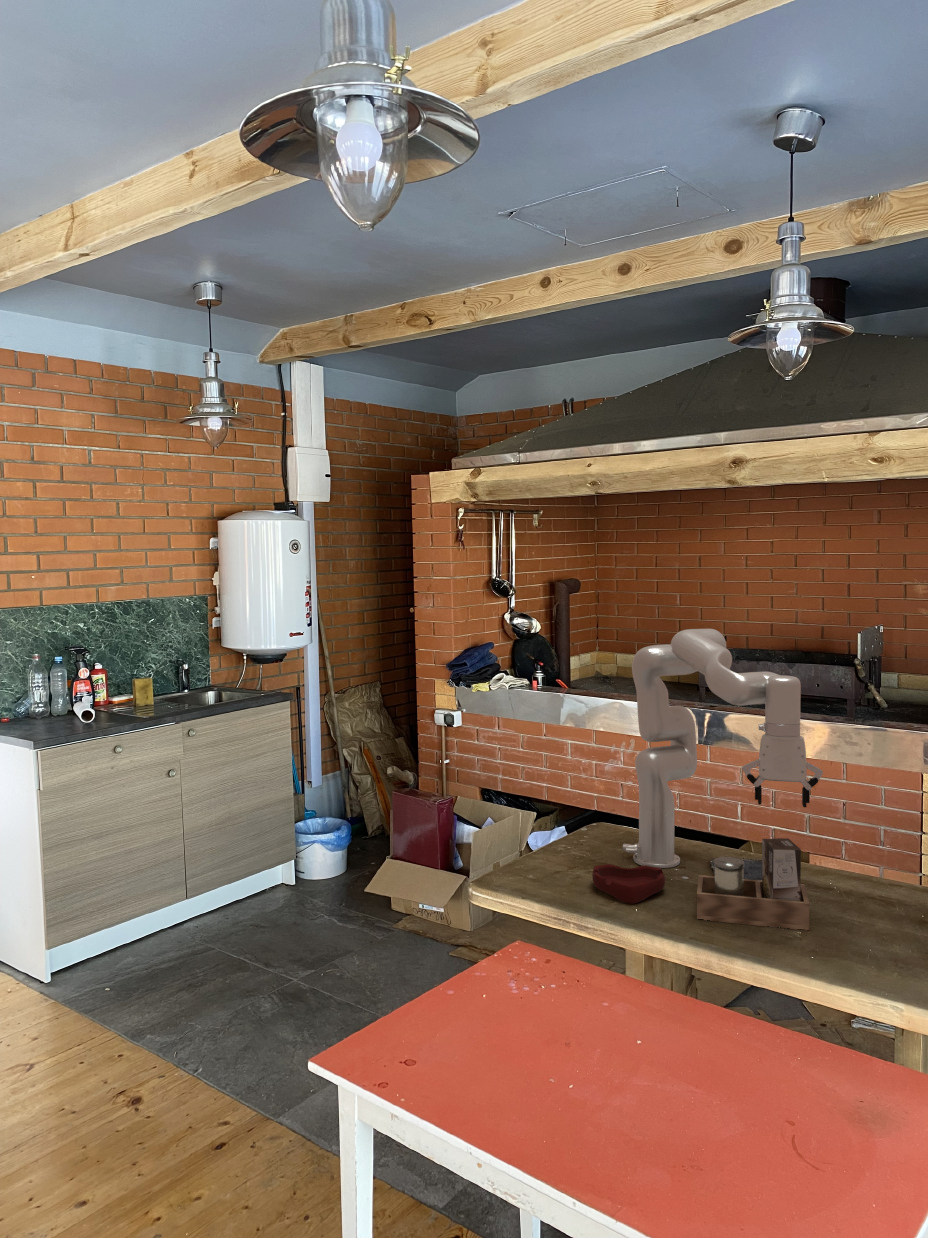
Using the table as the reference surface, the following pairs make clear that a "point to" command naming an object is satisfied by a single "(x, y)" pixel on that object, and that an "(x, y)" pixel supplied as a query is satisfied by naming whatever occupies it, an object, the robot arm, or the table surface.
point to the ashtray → (628, 881)
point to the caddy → (751, 906)
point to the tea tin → (729, 876)
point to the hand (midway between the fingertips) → (781, 804)
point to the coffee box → (781, 869)
